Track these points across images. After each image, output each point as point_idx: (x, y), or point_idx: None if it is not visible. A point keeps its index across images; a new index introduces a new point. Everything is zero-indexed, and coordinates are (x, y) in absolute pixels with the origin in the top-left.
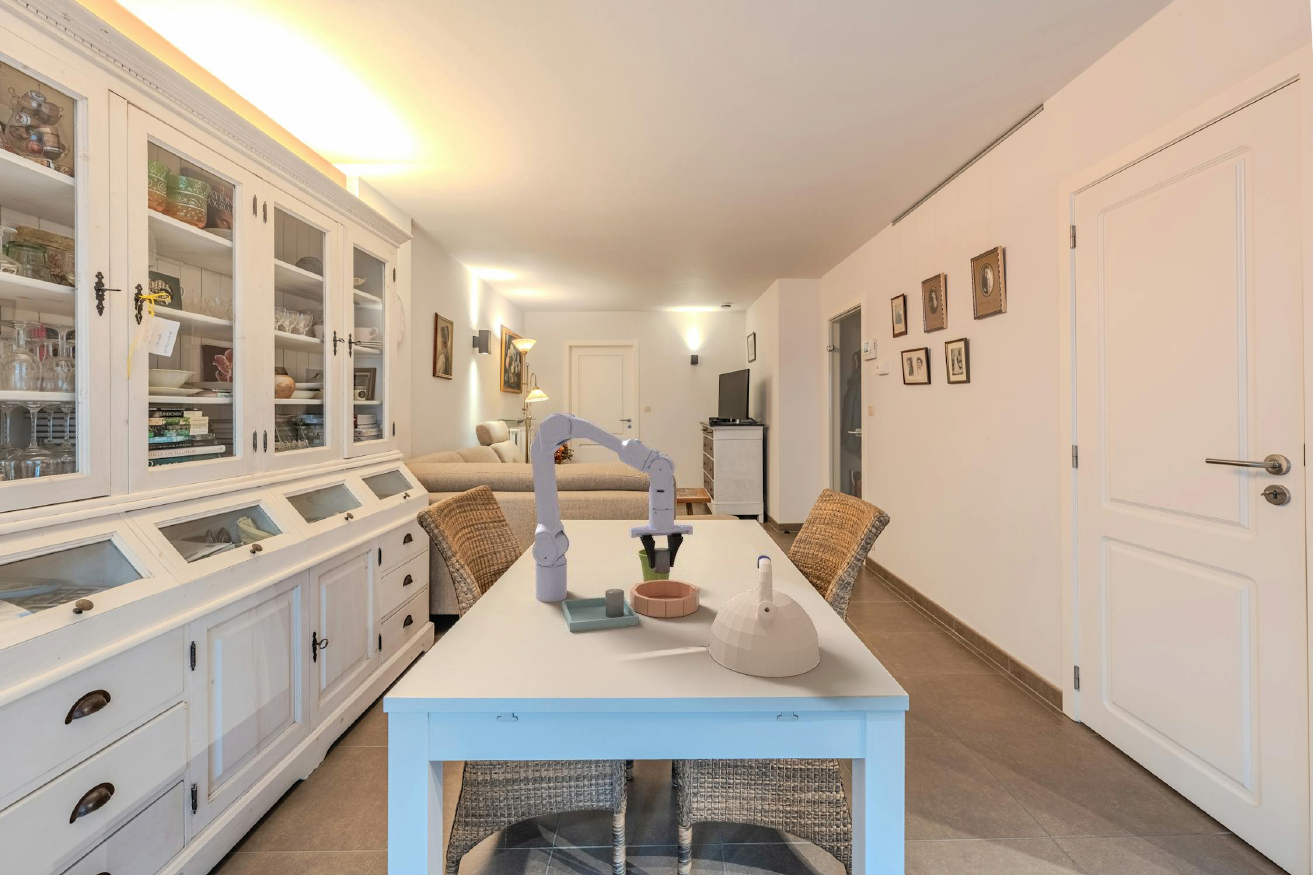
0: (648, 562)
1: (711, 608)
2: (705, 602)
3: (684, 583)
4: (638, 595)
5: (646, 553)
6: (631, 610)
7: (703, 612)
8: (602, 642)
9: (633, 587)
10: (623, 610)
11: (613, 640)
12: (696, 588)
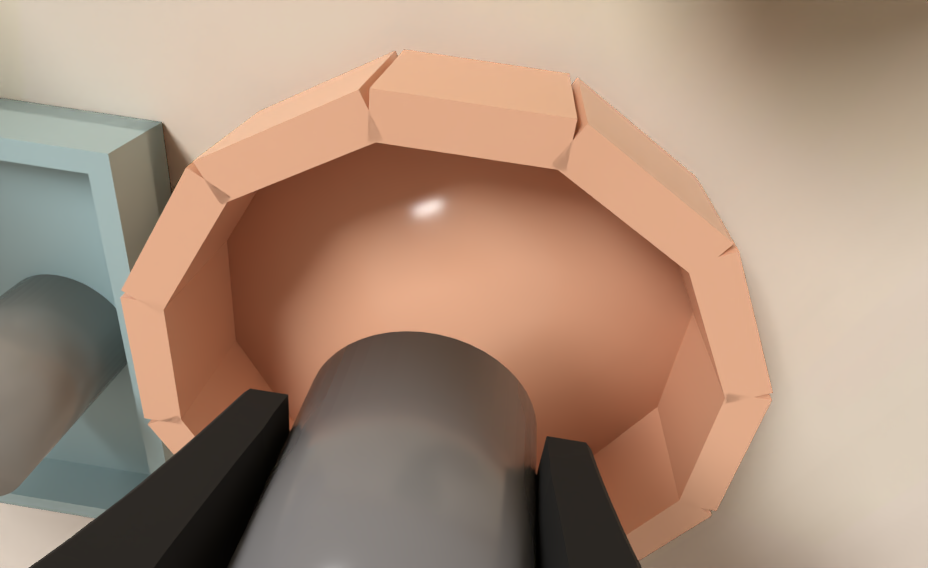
0: (213, 422)
1: (773, 411)
2: (833, 303)
3: (715, 337)
4: (176, 436)
5: (90, 534)
6: (148, 453)
7: None
8: (31, 525)
9: (156, 249)
10: (109, 382)
11: (79, 527)
12: (716, 482)
